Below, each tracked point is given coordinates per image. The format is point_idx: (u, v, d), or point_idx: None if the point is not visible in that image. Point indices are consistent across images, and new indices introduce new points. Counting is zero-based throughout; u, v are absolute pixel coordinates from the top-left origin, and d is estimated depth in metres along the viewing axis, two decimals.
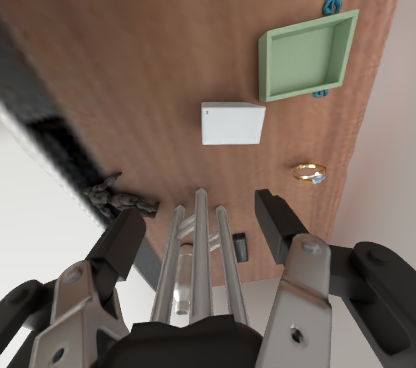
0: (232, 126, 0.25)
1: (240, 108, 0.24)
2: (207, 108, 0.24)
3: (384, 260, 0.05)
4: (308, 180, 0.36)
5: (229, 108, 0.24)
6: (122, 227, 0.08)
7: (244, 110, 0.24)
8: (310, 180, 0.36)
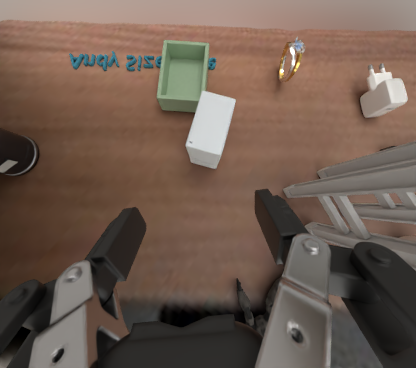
0: (210, 121, 0.25)
1: (196, 112, 0.25)
2: (187, 141, 0.24)
3: (384, 260, 0.05)
4: (298, 57, 0.31)
5: (193, 121, 0.25)
6: (122, 227, 0.08)
7: (199, 108, 0.25)
8: (299, 55, 0.31)
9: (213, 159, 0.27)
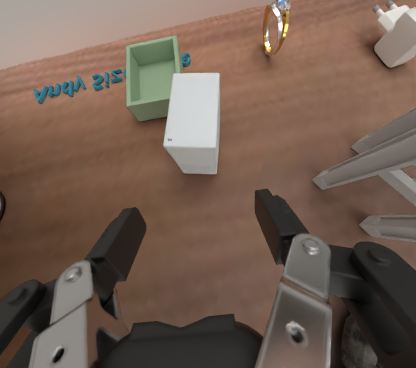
0: (191, 106, 0.18)
1: (170, 100, 0.18)
2: (165, 139, 0.17)
3: (384, 260, 0.05)
4: (285, 16, 0.25)
5: (168, 112, 0.18)
6: (122, 227, 0.08)
7: (173, 95, 0.18)
8: (284, 13, 0.25)
9: (208, 159, 0.20)
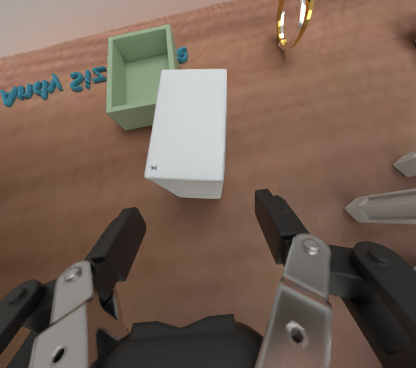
0: (186, 118, 0.12)
1: (156, 108, 0.13)
2: (147, 167, 0.12)
3: (384, 260, 0.05)
4: None
5: (153, 126, 0.12)
6: (122, 227, 0.08)
7: (161, 101, 0.13)
8: None
9: (211, 189, 0.14)
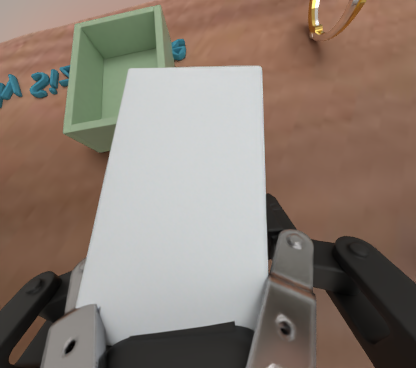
0: (177, 179, 0.05)
1: (112, 151, 0.06)
2: None
3: (362, 253, 0.05)
4: None
5: (102, 196, 0.05)
6: None
7: (122, 135, 0.06)
8: None
9: None
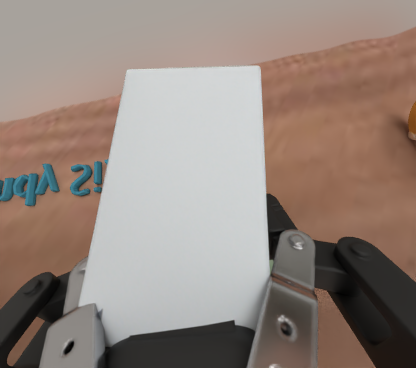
0: (177, 180, 0.05)
1: (112, 152, 0.06)
2: None
3: (364, 254, 0.05)
4: None
5: (102, 198, 0.05)
6: None
7: (121, 136, 0.06)
8: None
9: None
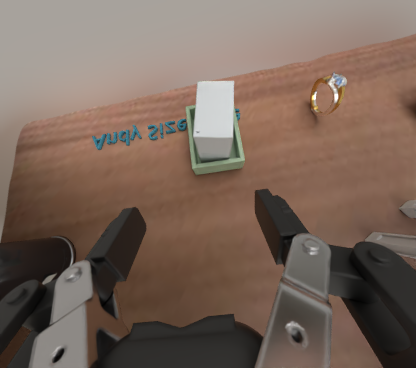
0: (213, 107, 0.23)
1: (196, 102, 0.24)
2: (194, 132, 0.23)
3: (384, 260, 0.05)
4: (340, 91, 0.27)
5: (195, 111, 0.24)
6: (122, 227, 0.08)
7: (198, 98, 0.24)
8: (340, 88, 0.27)
9: (225, 147, 0.25)
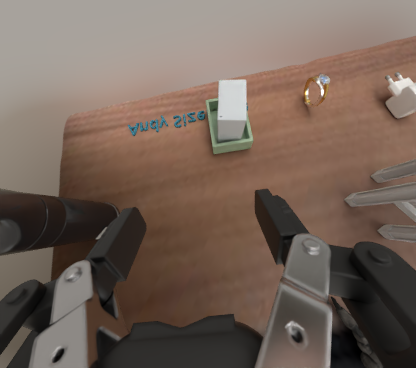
0: (231, 98, 0.32)
1: (219, 95, 0.33)
2: (218, 116, 0.31)
3: (384, 260, 0.05)
4: (325, 87, 0.36)
5: (218, 102, 0.32)
6: (122, 227, 0.08)
7: (220, 92, 0.33)
8: (325, 85, 0.36)
9: (239, 129, 0.34)
